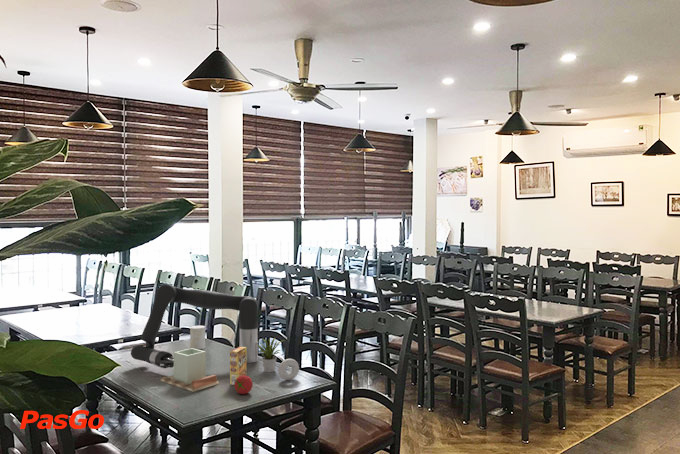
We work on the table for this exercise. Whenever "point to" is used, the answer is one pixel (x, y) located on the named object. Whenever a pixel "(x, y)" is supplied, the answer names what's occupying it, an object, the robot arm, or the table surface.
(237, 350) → the candy box
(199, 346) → the cup
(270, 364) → the house plant
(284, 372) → the donut
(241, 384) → the tomato
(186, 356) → the square container
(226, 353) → the table surface
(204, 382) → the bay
